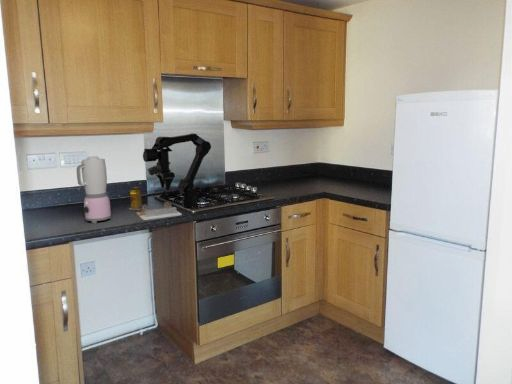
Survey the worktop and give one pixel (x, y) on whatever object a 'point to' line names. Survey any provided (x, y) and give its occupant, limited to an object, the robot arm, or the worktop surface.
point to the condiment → (135, 198)
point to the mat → (159, 216)
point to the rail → (160, 212)
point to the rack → (145, 207)
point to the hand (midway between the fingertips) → (165, 189)
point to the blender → (94, 189)
